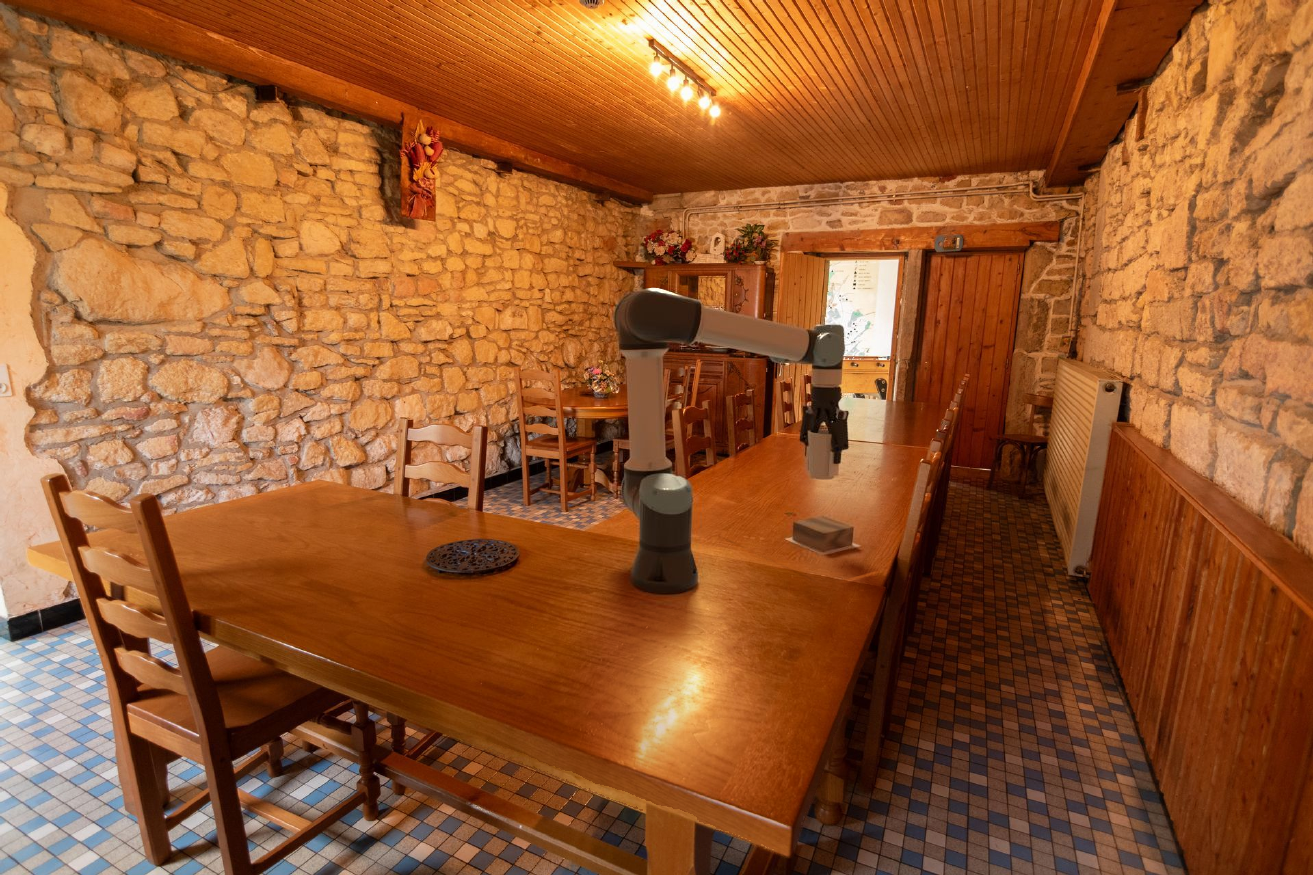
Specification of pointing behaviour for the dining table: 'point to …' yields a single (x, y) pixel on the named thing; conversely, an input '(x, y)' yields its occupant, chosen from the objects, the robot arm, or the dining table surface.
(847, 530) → the base block
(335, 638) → the dining table surface
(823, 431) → the cup
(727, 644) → the dining table surface
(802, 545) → the mat
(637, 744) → the dining table surface
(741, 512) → the dining table surface
